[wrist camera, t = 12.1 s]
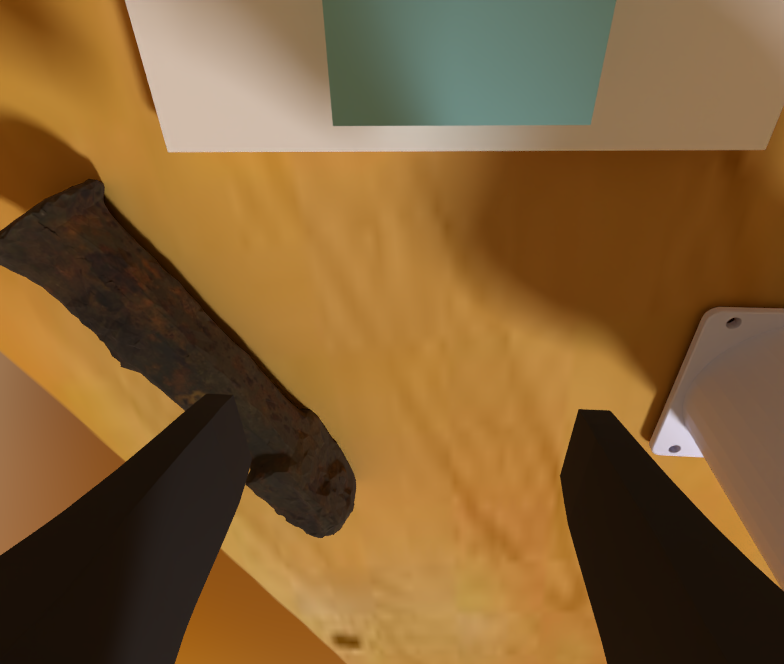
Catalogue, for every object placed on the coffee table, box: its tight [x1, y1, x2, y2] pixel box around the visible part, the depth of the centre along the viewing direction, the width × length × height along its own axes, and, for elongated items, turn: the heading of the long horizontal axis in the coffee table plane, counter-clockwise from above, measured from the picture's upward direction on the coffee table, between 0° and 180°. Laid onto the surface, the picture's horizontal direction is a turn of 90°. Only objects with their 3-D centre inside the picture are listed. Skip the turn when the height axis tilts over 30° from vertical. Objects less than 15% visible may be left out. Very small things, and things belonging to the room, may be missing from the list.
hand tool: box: [0, 179, 356, 538], centre depth 20 cm, size 19×4×5 cm, turn 31°
